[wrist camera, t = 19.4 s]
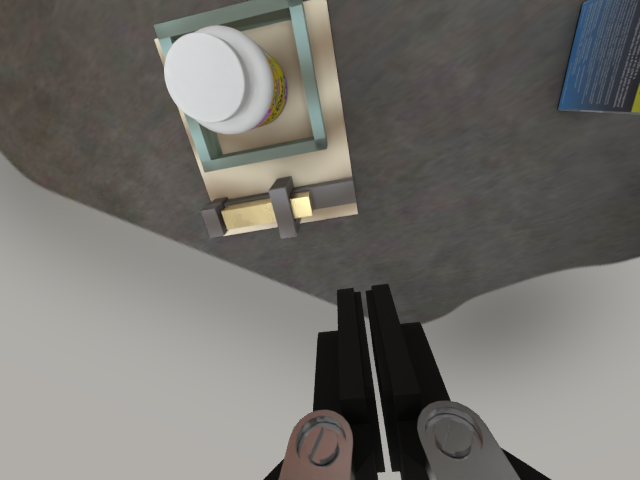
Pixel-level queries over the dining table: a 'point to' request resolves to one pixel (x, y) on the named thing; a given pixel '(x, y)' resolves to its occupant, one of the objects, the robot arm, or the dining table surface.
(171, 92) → the supplement bottle
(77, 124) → the dining table surface
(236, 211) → the lock bolt
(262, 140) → the dock
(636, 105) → the label tape box
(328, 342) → the robot arm
